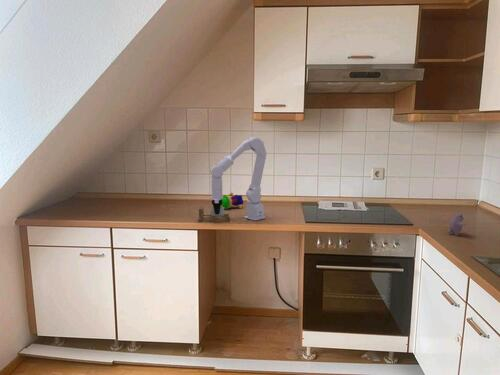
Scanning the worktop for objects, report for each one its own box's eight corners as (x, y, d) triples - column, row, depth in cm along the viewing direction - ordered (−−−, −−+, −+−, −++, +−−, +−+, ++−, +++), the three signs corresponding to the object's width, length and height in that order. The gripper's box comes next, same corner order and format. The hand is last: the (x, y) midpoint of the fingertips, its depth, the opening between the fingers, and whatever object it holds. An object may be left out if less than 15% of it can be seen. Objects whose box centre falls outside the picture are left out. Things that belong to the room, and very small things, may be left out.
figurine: (466, 238, 168) (469, 216, 166) (452, 238, 169) (454, 215, 167) (456, 231, 179) (459, 210, 178) (443, 230, 180) (445, 209, 179)
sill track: (229, 218, 204) (229, 205, 203) (229, 221, 197) (229, 208, 196) (200, 218, 203) (199, 206, 202) (199, 221, 196) (198, 209, 195)
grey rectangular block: (224, 217, 201) (224, 207, 200) (224, 218, 199) (224, 207, 198) (211, 218, 200) (211, 207, 199) (211, 218, 199) (210, 208, 198)
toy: (235, 194, 237) (214, 196, 228) (241, 188, 230) (220, 190, 222) (241, 211, 232) (220, 214, 224) (247, 205, 226) (226, 207, 217)
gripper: (209, 186, 204) (210, 210, 206) (208, 191, 190) (209, 217, 192) (222, 186, 204) (223, 210, 207) (222, 191, 190) (222, 216, 192)
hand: (217, 213), depth 199 cm, fingers closed on grey rectangular block, 2 cm apart
